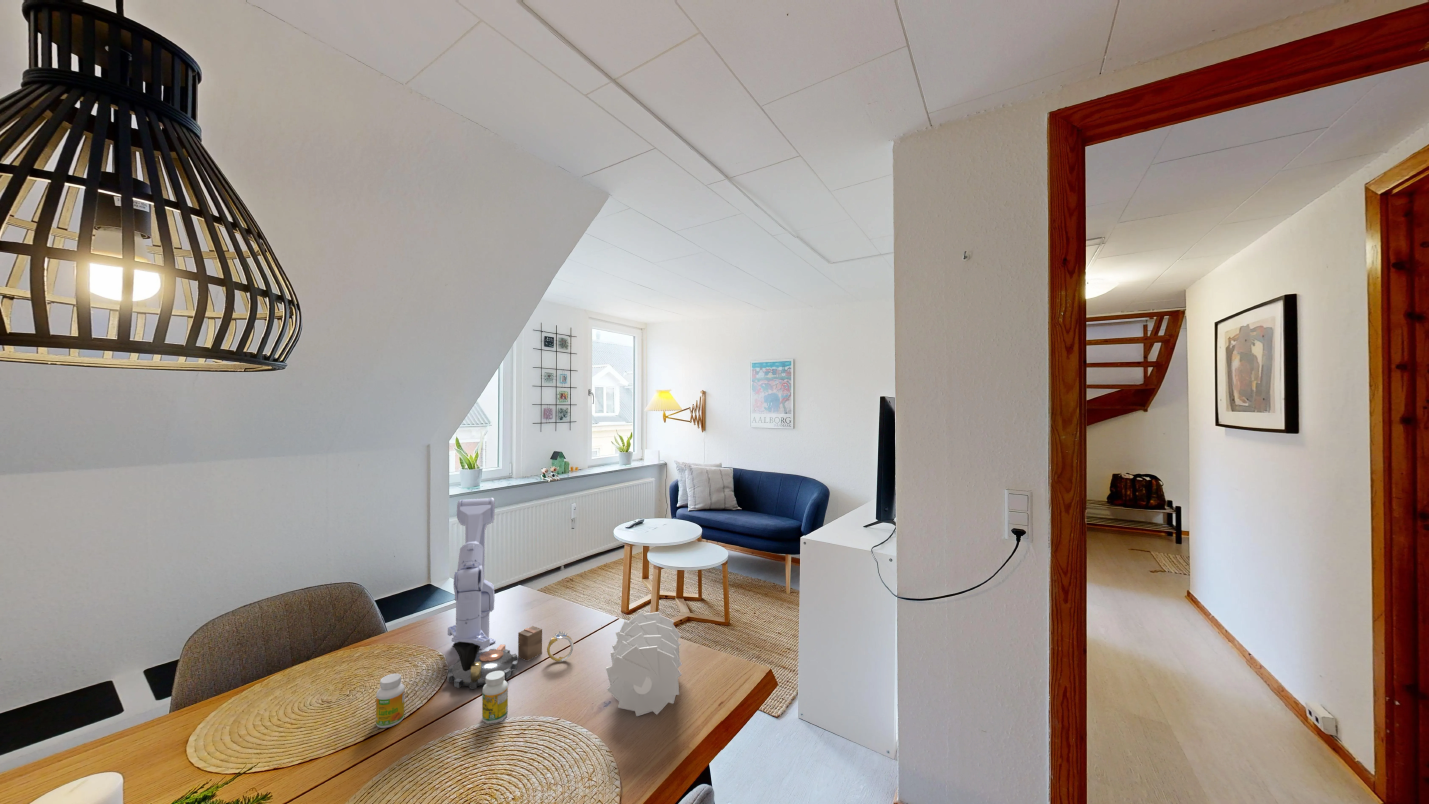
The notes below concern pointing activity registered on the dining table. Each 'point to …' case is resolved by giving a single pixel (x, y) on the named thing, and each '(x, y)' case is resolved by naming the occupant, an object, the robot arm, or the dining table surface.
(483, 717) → the supplement bottle
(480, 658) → the sprocket
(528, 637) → the wooden block
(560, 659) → the ring
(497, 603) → the dining table surface
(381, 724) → the supplement bottle
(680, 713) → the dining table surface
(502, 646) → the peach rectangular prism
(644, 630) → the white spiral plate stack
